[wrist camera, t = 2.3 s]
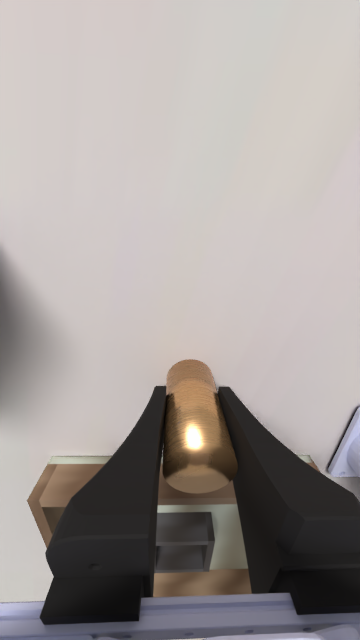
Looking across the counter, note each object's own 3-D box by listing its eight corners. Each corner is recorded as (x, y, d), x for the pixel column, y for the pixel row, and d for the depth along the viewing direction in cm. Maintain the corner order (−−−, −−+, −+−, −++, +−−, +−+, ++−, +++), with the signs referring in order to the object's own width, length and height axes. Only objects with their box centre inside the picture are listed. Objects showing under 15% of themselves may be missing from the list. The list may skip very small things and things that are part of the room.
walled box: (309, 455, 17) (335, 496, 15) (264, 563, 25) (276, 604, 22) (51, 456, 16) (27, 500, 14) (85, 568, 24) (73, 612, 21)
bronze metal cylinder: (214, 359, 13) (243, 443, 8) (209, 396, 15) (232, 493, 9) (167, 359, 13) (162, 444, 8) (166, 396, 14) (161, 493, 9)
